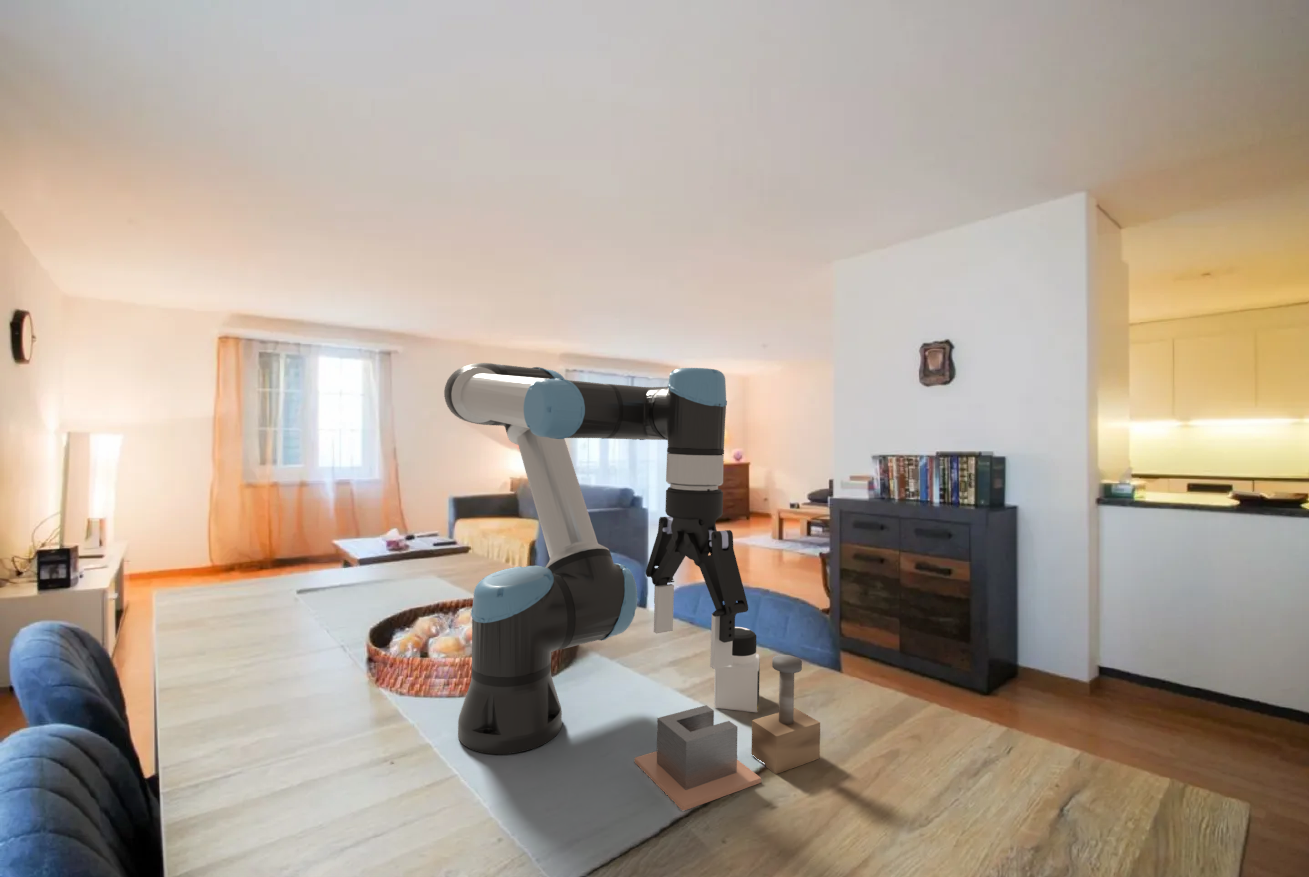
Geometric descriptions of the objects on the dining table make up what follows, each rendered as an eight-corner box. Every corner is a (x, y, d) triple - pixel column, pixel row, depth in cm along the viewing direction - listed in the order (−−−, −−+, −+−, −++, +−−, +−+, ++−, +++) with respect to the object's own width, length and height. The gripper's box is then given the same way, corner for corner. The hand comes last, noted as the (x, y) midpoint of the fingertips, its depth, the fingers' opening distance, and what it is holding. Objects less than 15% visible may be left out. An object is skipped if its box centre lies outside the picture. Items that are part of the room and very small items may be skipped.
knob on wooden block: (751, 756, 81) (753, 659, 81) (793, 741, 86) (795, 649, 86) (776, 774, 77) (777, 671, 77) (819, 758, 81) (821, 661, 81)
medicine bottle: (758, 713, 94) (759, 639, 94) (713, 708, 96) (715, 635, 96) (759, 694, 101) (760, 625, 101) (718, 690, 103) (719, 622, 103)
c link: (685, 790, 72) (686, 741, 72) (656, 762, 78) (657, 717, 78) (736, 772, 76) (737, 726, 76) (705, 747, 82) (706, 705, 82)
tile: (634, 761, 79) (634, 757, 79) (706, 740, 86) (706, 736, 86) (682, 811, 69) (682, 806, 69) (760, 782, 75) (761, 777, 75)
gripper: (781, 496, 68) (776, 677, 68) (668, 478, 90) (665, 616, 90) (730, 498, 64) (724, 690, 64) (625, 479, 86) (621, 623, 86)
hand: (689, 647), depth 77 cm, fingers open, 13 cm apart
